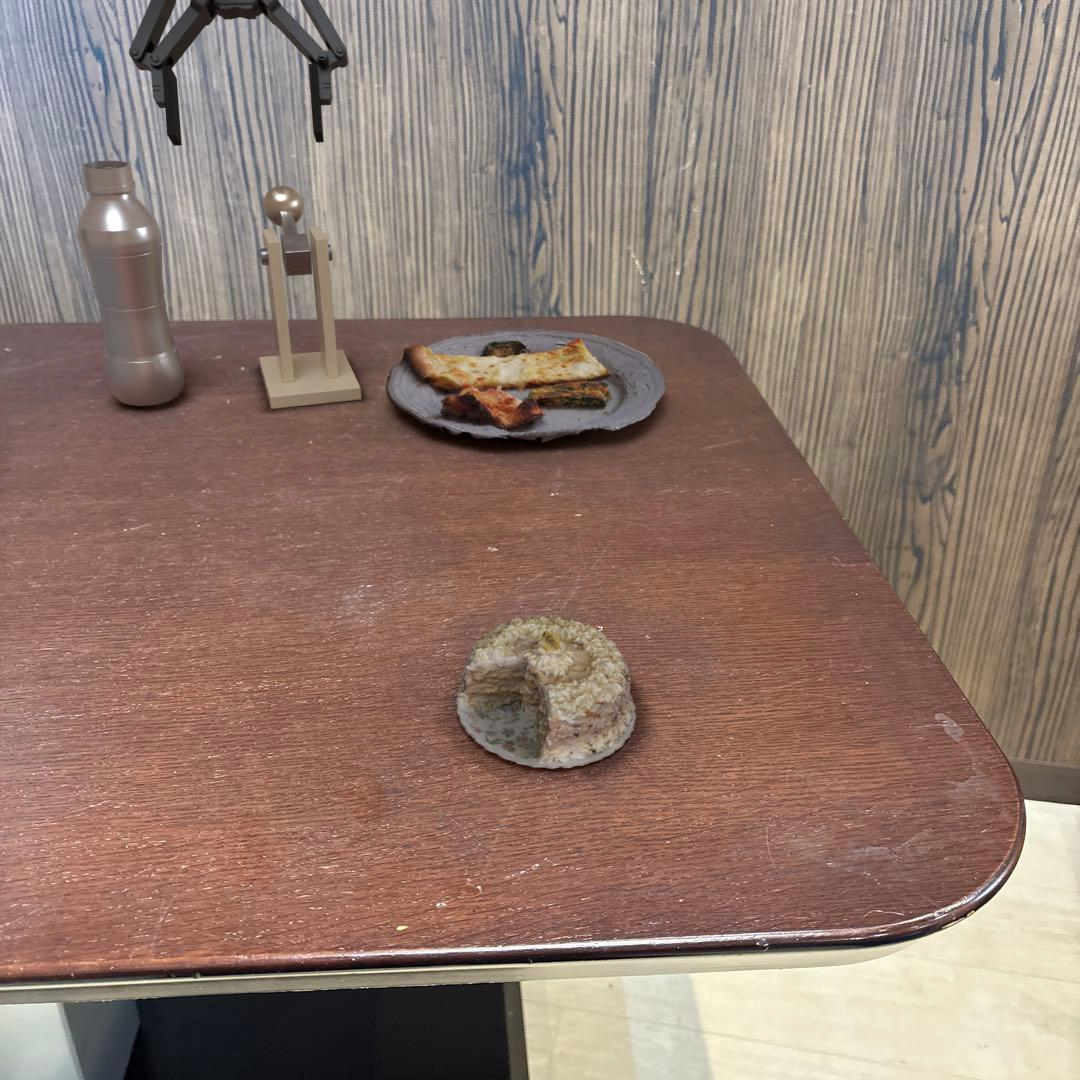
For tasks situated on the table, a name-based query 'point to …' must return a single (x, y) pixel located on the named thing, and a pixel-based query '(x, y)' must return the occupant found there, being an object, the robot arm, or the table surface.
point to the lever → (289, 228)
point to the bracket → (328, 369)
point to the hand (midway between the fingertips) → (247, 139)
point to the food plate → (525, 384)
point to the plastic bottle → (128, 287)
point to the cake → (546, 693)
